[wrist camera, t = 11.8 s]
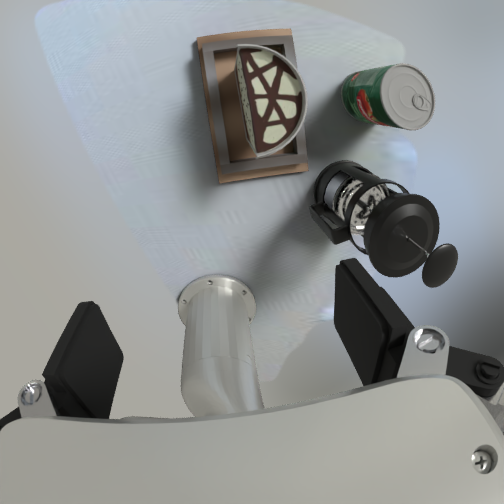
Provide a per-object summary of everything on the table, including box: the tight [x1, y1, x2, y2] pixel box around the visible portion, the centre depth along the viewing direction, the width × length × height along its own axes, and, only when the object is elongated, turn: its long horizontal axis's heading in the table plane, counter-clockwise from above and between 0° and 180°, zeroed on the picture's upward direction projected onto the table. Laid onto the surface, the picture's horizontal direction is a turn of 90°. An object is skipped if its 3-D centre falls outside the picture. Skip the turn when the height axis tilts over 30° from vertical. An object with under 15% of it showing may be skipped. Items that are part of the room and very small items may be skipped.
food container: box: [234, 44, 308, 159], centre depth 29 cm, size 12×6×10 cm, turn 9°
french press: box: [309, 160, 458, 288], centre depth 31 cm, size 12×9×23 cm
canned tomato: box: [341, 63, 435, 130], centre depth 30 cm, size 8×8×11 cm
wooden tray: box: [197, 29, 308, 184], centre depth 33 cm, size 20×12×3 cm, turn 8°
